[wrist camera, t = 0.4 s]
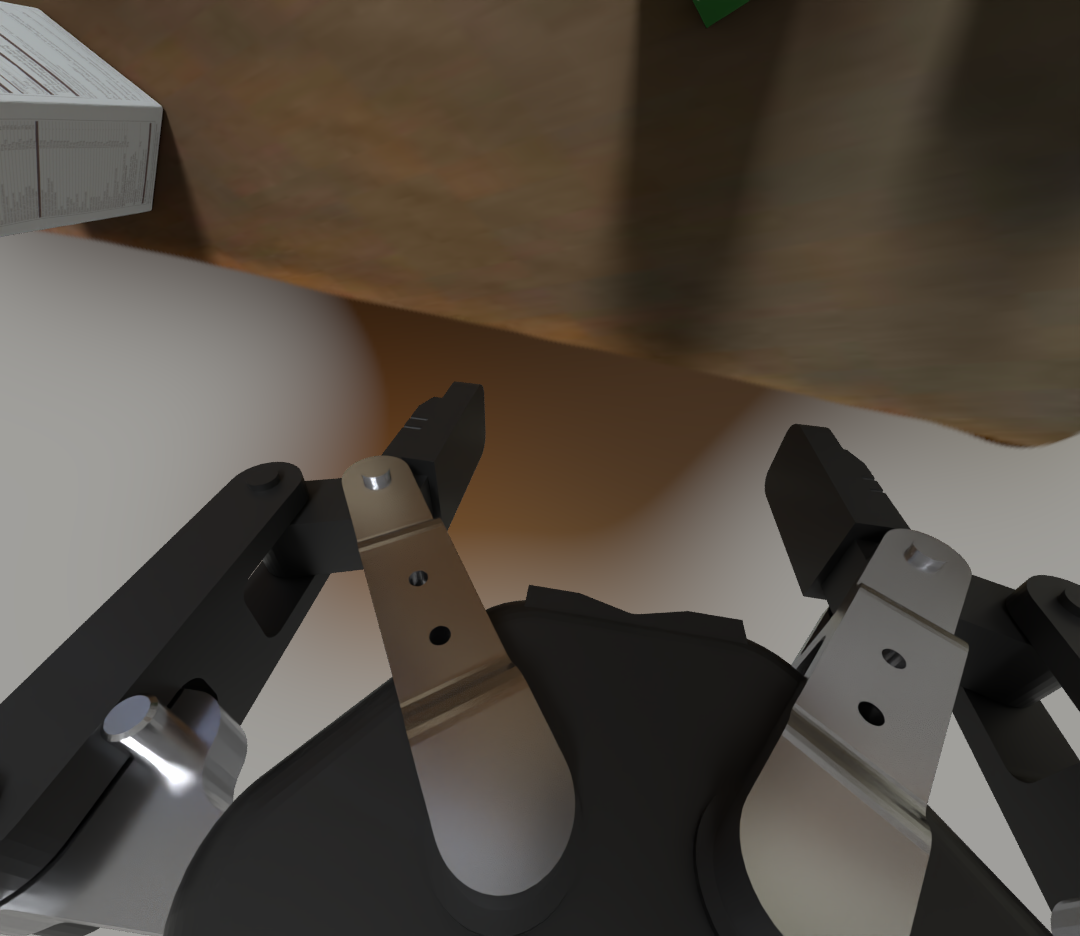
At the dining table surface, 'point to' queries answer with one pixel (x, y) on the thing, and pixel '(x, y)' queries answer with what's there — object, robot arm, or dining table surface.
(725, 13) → the milk carton
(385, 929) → the robot arm
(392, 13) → the dining table surface
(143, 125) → the supplement box
